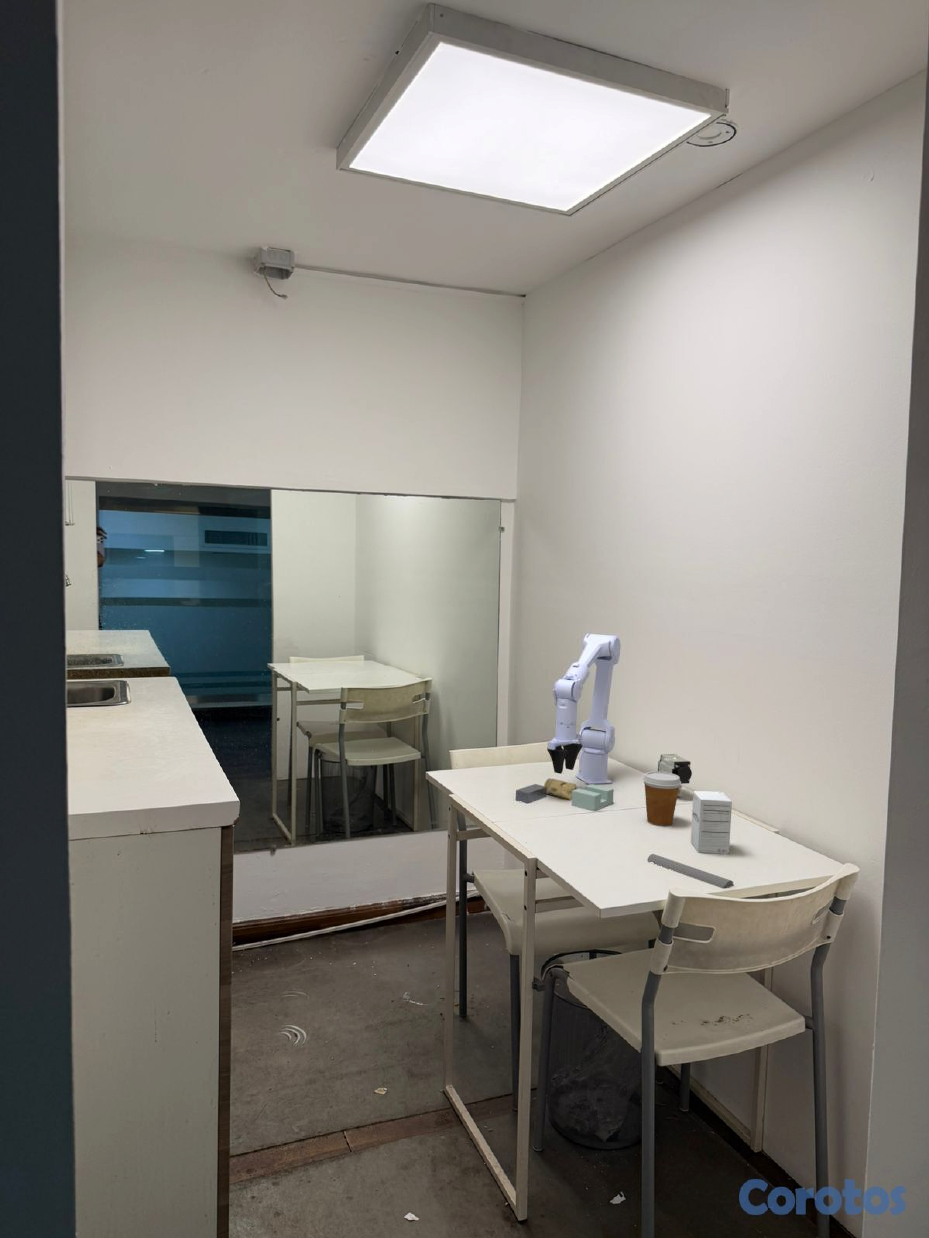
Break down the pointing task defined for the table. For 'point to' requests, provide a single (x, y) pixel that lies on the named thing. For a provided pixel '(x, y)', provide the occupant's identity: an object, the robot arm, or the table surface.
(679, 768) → the pneumatic valve
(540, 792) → the grey rectangular blocks
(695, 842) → the supplement box
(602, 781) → the robot arm
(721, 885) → the half round rod
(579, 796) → the v block
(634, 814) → the table surface
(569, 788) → the gold rounded piece
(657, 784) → the disposable coffee cup
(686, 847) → the table surface
